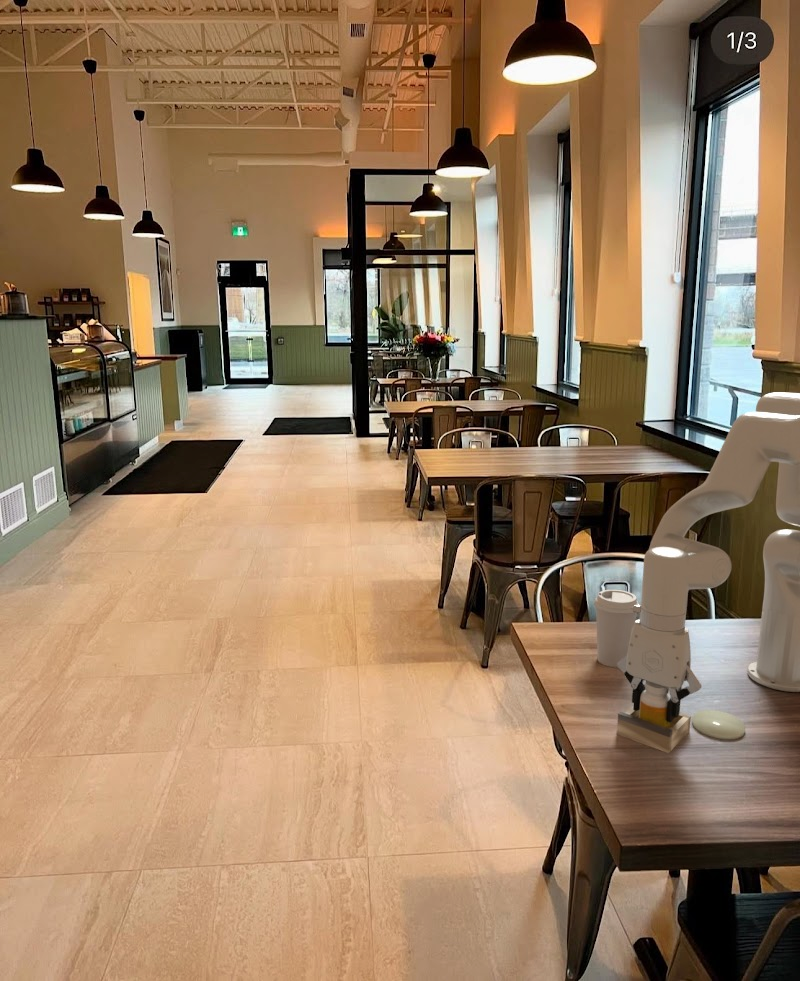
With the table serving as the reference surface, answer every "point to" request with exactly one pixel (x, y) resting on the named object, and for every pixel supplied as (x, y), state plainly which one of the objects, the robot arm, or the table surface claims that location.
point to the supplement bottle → (654, 704)
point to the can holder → (653, 730)
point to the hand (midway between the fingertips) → (654, 712)
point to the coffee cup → (614, 624)
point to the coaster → (718, 724)
